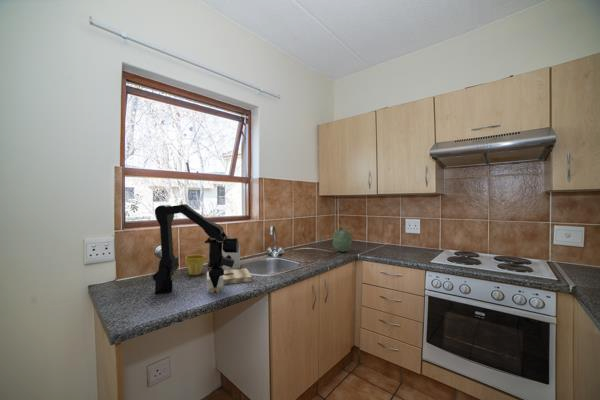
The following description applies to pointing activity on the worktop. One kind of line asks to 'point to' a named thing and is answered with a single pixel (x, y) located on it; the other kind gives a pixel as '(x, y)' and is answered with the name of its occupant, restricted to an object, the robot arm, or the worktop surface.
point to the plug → (210, 285)
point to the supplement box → (235, 257)
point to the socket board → (236, 276)
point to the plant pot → (195, 264)
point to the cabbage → (342, 240)
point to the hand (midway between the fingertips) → (214, 285)
